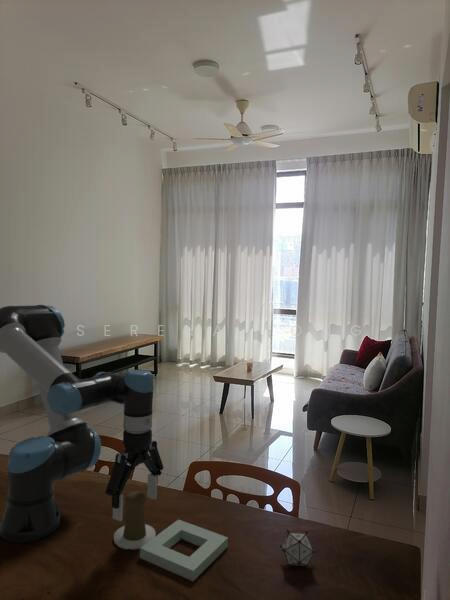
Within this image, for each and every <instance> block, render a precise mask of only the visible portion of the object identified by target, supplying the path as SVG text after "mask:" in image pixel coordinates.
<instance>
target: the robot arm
mask: <svg viewBox="0 0 450 600" xmlns="http://www.w3.org/2000/svg"><path fill="white" fill-rule="evenodd" d="M65 327H66V324H65V320H64V317H63V315H62V313H61V312H60V310H59V309H57V308H56V307H54V306H52V305H44V304H37V305H36V304H35V305H7V306H3V307H0V353H2V354H3V353H4V354H6V355H7V356H8V357H9V358H10V359H11V360H13V362H14V363H16V364H17V366H18V367H19V368H20V369H22V370H23V371H24V372H25V373H26V374H27V375H28V376H30V378H31V379H32V380H33V381H35V382H36V383H37V386H38V389H39V392H40V396H41V400H42V403H43V406H44V410H45V413H46V416H47V421H48V424H49V428H50V429H49V431H48V433H47V434H46V435H45V436H44V435H43V436H42V435H40V436H37V437H34V436H33V437H29V438H26V439H24V440H21V441H19V442H17V443H16V444H15V445H14V446H13V447H12V448H10V451H9V453H8V461H7V466H6V467H7V504H6V506H5V509H4V512H3V516H2V518H1V521H0V537H1V538H2V539H3V540H4V541H7V542H11V543H28V542H29V543H30V542H33V541H39V540H40V539H43V538H46V537H47V536H49V535H51V534H53V533H54V532H55V531H56V530H57V529H58V528H59V527H60V524H61V523H60V521H61V515H60V510H59V507H58V504H57V502H56V498H55V484H56V483H57V482H59V481H61V480H62V481H63V480H64V479H66V478H69V477H72V476H75V475H76V474H79V473H83V472H85V471H86V470H88V469H90V468H92V467H94V466H95V464H97V462H98V461H99V458H100V456H101V453H102V451H101V450H102V443H101V438H100V435H99V434H98V431H96V430H95V429H93V428H91V427H88V424H87V421H86V420H83V419H81V418H80V417H79V413H78V412H79V411H83V410H85V409H88V408H93V407H97V406H101V405H105V404H108V403H115V404H119V405H123V424H122V426H123V427H122V429H123V432H122V444H123V446H124V448H125V449H124V450H125V451H124V452H123V453H116V454H115V460H114V464H113V465H114V466H113V468H112V471H111V473H110V476H109V480H108V483H107V486H106V488H105V489H106V490H105V495H108V496H110V497H111V508H112V519H114V520H117V521H119V522H122V521H123V515H124V514H123V513H124V494H122V493H123V491H124V489H125V486H126V484H127V482H128V480H129V478H130V476H131V473H132V471H134V470H135V469H136V467H137V466H139V465H141V464H143V465H144V466H145V467H146V469H148V471H149V472H150V473H148V474H147V489H146V491H147V495H146V497H147V498H149V499H152V500H157V493H158V483H159V478H158V477H159V476H161V475H162V471H163V470H164V464H163V462H162V459H161V456H160V452H159V449H158V441H156V440H152V439H153V431H152V428H153V404H154V403H153V402H154V401H153V399H154V390H155V386H154V374H153V373H152V372H151V371H149V370H146V369H132V370H128V371H125V373H124V375H123V374H119V373H118V374H117V373H114V372H111V371H107V372H106V371H99V372H97V373H96V374H95V375H93V376H92V377H88V378H83V379H80V378H78V377H77V376H76V375H74V373H72V372H71V371H70V370H69V369H68V368H67V367H65V365H64V363H63V359H62V355H61V352H60V348H59V346H60V344H61V342H62V337H63V336H64V333H65Z"/></svg>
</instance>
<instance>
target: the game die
mask: <svg viewBox="0 0 450 600" xmlns="http://www.w3.org/2000/svg"><path fill="white" fill-rule="evenodd" d="M286 533H287V535H286V537H285V540H284V541H283V544H282V545H281V544H280V545H279V548H282V549H281V552H283V553H284V556H285V559H286V562H287V566H286V569H288V568H289V567H290V566H300V567H305V568H306V569H307V570H309V568H310V566H308V564H309V562H310V560H311V557H312V555H313V554H317V551H316V550H314V548H313V546H312V544H311V541H310V540H309V537H308V533H309V530H306V531H305V532H304V533H303V532H290V531H289V530H288V529H286Z"/></svg>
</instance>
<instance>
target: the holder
mask: <svg viewBox="0 0 450 600" xmlns="http://www.w3.org/2000/svg"><path fill="white" fill-rule="evenodd" d="M181 540H183V541H186V542H188V543H190V544H193V545H195V546H198V548H197V549H196V550H195V551H194V552H193V553H192V554H191V555H190V556H188V555H185V554H183V553H181V552H178V551H176V550H174V549H171V548H172V547H173V546H174V545H176V544H177V543H178V542H180V541H181ZM228 547H229V537H227V536H225V535H222V534H219V533H218V532H214V531H211V530H208V529H206V528H204V527H200V526H199V525H198V526H197V525H194V524H192V523H189V522H186V521H184V520H180V519H177V520H176V521H174V522H173V523H172V524H171V525H169V526H168V527H166V528H165V529H164V530H162V531H161V532H160V533H158V534H157V535H156V536H155V537H154V538H153V539H151V540H150V541H149V542H147V543H146V544H145V545H143V546H142V547H141V548H140V549H139V559H141V560H144V561H146V562H148V563H150V564H153V565H154V566H155V565H156V566H157V567H160V568H162V569H164V570H166V571H169V572H171V573H173V574H175V575H178V576H180V577H183V578H185V579H186V580H189V581H191V582H195V580H196V579H198V578H199V576H200V575H201V574H202V573H203V572H204V571H205V570H206V569H207V568H208V567H209V566H211V564H212V563H214V561H215V560H217V558H218V557H219V556H220V555H221V554H223V553H224V552H225V550H227V548H228Z"/></svg>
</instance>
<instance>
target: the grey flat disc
mask: <svg viewBox="0 0 450 600" xmlns="http://www.w3.org/2000/svg"><path fill="white" fill-rule="evenodd" d="M124 527H125V525H123V526H122V527H119V528H118V529H117V530H115V532H114V534H113V542H114V544H115V545H116V546H117V547H118V548H120V549H122V550H128V549H129V550H130V549H131V551H133V550H140V548H141V547H142V546H143V545H145V544H146V543H147V542H149V541H150V540H151V539H153V538H154V537H155V536H157V535H156V530H155V528H154V527H153V526H151V525H149V524H147V523H145V528H146V536H145V537H144V538H142V539H140V540H137V541H129V540H126V539H125V538H124V537H123V533H124ZM129 550H128V551H129Z"/></svg>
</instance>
